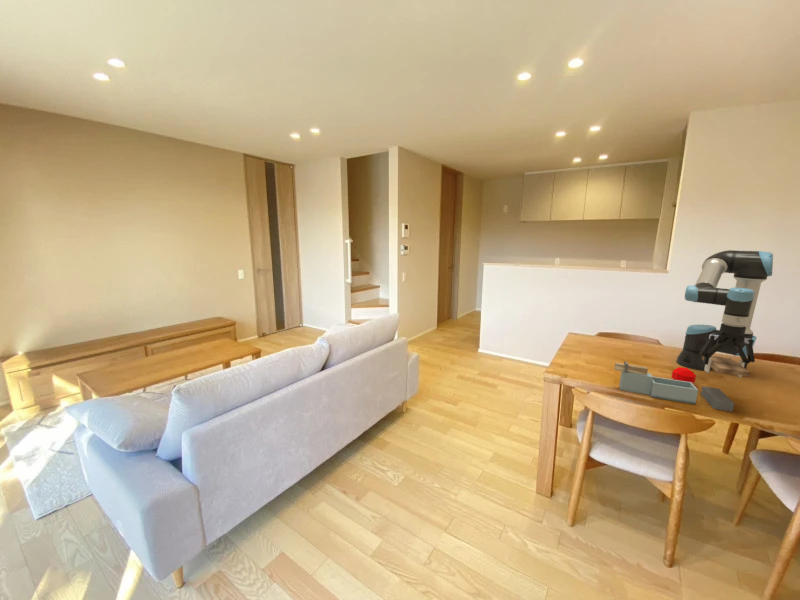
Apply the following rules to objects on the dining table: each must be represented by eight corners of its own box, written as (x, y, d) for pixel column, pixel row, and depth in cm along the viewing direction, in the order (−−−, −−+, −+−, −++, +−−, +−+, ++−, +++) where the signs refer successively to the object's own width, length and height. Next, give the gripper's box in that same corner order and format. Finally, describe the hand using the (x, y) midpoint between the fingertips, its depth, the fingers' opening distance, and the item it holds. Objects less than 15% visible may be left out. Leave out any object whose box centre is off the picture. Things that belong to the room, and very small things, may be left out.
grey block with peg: (619, 386, 160) (623, 361, 157) (647, 391, 156) (652, 365, 153) (620, 390, 157) (624, 364, 154) (649, 395, 152) (654, 368, 149)
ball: (686, 380, 167) (689, 366, 165) (696, 387, 159) (699, 373, 157) (668, 379, 168) (671, 365, 167) (677, 386, 161) (680, 371, 159)
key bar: (614, 368, 159) (615, 362, 158) (645, 372, 154) (646, 366, 153) (615, 370, 157) (616, 364, 156) (646, 374, 152) (647, 368, 151)
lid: (717, 372, 137) (718, 367, 136) (701, 358, 151) (702, 354, 151) (749, 376, 133) (750, 372, 132) (729, 362, 147) (730, 358, 147)
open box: (646, 389, 158) (648, 375, 156) (688, 396, 151) (691, 382, 150) (650, 397, 150) (653, 383, 149) (695, 404, 144) (698, 390, 142)
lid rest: (700, 394, 153) (702, 386, 152) (717, 396, 151) (719, 388, 150) (713, 408, 141) (715, 400, 140) (732, 411, 138) (734, 403, 137)
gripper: (703, 323, 139) (692, 372, 144) (775, 330, 130) (762, 382, 135) (695, 319, 146) (686, 365, 151) (764, 325, 137) (752, 374, 141)
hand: (722, 373), depth 143 cm, fingers closed on lid, 10 cm apart
